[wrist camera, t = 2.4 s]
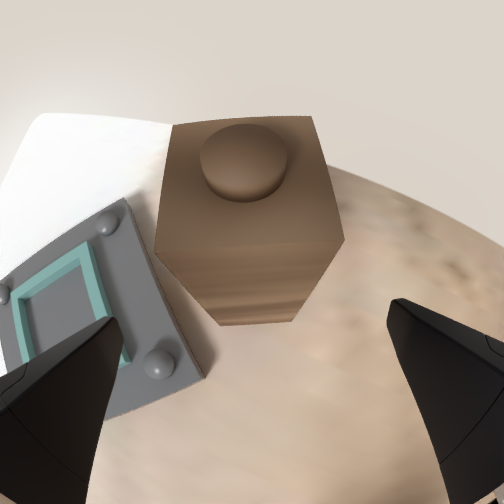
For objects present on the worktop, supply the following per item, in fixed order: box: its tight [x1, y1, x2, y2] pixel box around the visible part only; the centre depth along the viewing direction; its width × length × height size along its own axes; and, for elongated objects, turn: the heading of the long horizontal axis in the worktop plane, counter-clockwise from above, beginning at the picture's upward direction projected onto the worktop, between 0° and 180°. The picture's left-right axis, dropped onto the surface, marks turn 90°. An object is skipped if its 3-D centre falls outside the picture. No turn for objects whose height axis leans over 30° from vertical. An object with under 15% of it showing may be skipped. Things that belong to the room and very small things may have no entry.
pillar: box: [154, 116, 345, 326], centre depth 14 cm, size 5×5×14 cm
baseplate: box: [0, 197, 206, 421], centre depth 18 cm, size 18×16×2 cm
